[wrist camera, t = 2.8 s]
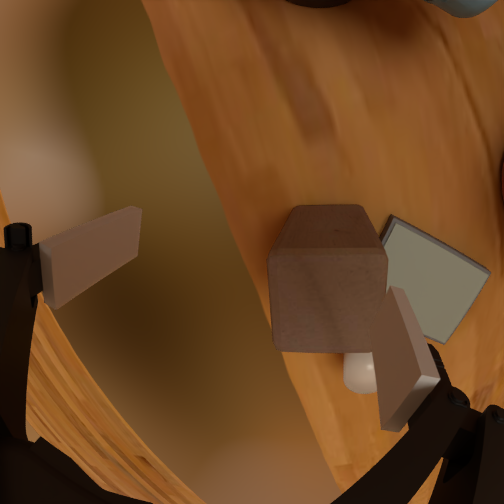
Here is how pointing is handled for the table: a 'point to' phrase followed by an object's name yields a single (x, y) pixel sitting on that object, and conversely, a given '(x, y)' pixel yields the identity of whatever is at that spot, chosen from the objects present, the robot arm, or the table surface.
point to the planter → (503, 181)
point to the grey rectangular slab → (431, 277)
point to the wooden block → (326, 280)
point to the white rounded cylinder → (359, 372)
